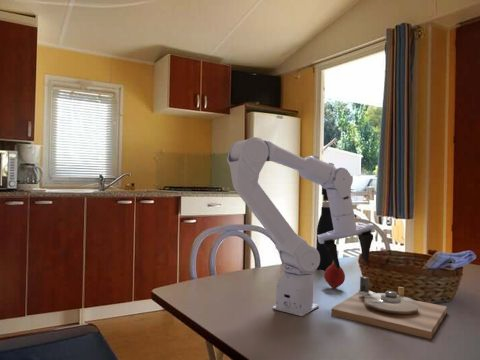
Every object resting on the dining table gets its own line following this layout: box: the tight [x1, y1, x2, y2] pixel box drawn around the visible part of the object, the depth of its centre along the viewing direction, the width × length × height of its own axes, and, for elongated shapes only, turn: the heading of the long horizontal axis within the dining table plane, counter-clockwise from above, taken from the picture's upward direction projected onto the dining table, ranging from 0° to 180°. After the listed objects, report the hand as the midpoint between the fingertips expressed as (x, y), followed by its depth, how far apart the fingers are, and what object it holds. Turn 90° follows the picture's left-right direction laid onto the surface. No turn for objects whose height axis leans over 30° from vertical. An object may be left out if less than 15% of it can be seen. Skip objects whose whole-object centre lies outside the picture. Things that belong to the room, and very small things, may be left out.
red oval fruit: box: [323, 262, 346, 290], centre depth 112 cm, size 6×6×8 cm
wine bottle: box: [315, 187, 336, 272], centre depth 139 cm, size 6×6×30 cm
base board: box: [331, 286, 448, 340], centre depth 91 cm, size 21×21×5 cm
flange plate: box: [358, 276, 419, 314], centre depth 93 cm, size 16×12×4 cm
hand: (351, 263), depth 100 cm, fingers open, 7 cm apart
